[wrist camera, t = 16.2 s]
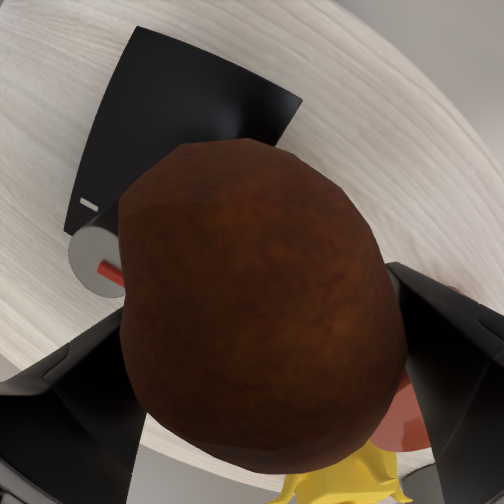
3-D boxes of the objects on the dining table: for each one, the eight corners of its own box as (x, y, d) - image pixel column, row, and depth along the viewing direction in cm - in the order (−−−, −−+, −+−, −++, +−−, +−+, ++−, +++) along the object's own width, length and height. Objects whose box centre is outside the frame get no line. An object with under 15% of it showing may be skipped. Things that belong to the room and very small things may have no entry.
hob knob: (99, 239, 19) (60, 277, 14) (116, 185, 17) (72, 215, 13) (151, 268, 19) (122, 314, 15) (174, 216, 18) (143, 255, 13)
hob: (152, 33, 15) (135, 24, 12) (299, 100, 16) (303, 99, 14) (78, 229, 21) (59, 244, 19) (190, 290, 23) (181, 312, 21)
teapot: (403, 450, 34) (414, 507, 25) (313, 476, 38) (313, 530, 29) (382, 407, 28) (398, 484, 20) (267, 441, 32) (262, 511, 24)
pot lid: (464, 309, 14) (492, 353, 11) (530, 361, 16) (548, 392, 13) (330, 428, 19) (334, 470, 16) (428, 447, 21) (435, 478, 18)
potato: (386, 125, 8) (561, 190, 2) (360, 366, 12) (387, 509, 6) (144, 138, 8) (-33, 219, 3) (194, 369, 13) (157, 507, 7)
